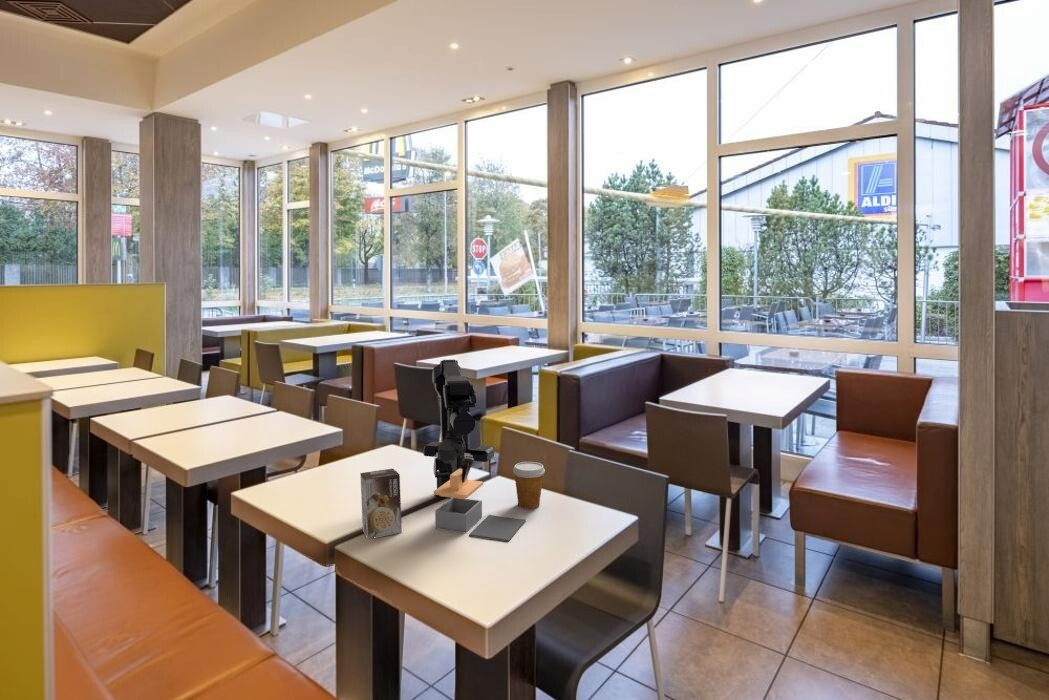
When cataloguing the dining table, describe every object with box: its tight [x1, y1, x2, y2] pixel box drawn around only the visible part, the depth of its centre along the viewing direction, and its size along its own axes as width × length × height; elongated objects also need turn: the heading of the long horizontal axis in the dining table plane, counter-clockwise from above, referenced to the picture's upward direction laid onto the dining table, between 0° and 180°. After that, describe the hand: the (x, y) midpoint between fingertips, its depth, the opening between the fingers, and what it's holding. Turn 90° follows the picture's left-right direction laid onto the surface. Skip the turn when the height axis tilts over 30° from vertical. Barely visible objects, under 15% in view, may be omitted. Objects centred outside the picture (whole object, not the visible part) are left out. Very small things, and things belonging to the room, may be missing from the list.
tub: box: [434, 498, 483, 534], centre depth 163 cm, size 9×11×5 cm
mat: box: [468, 514, 527, 543], centre depth 160 cm, size 11×14×1 cm
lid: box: [433, 469, 484, 499], centre depth 162 cm, size 10×12×6 cm
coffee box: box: [360, 468, 403, 539], centre depth 157 cm, size 9×6×16 cm
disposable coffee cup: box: [512, 461, 546, 510], centre depth 176 cm, size 10×10×12 cm
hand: (458, 482), depth 162 cm, fingers closed on lid, 2 cm apart
